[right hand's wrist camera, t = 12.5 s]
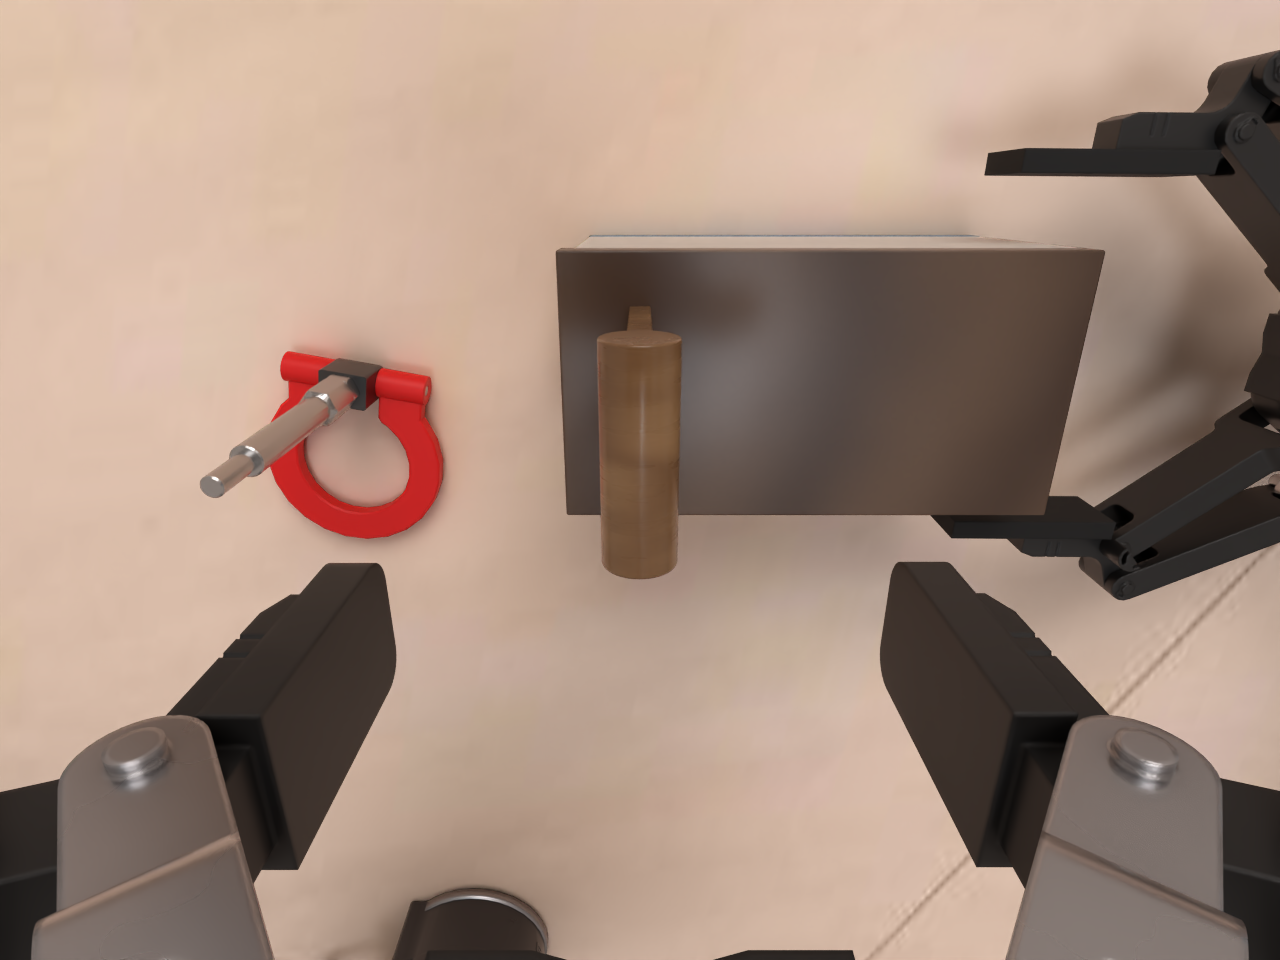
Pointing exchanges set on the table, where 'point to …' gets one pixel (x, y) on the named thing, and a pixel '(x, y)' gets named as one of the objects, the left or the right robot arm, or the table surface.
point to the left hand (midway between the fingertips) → (967, 355)
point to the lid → (812, 383)
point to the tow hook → (319, 402)
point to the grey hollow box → (804, 241)
